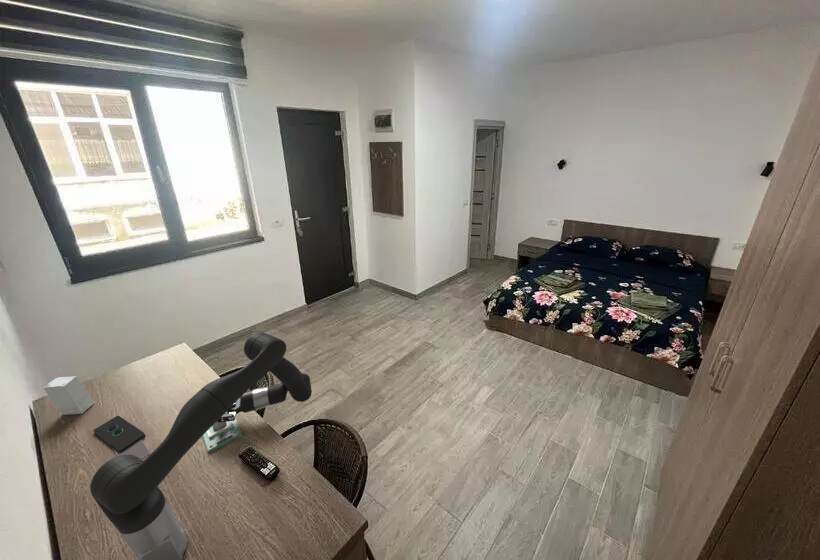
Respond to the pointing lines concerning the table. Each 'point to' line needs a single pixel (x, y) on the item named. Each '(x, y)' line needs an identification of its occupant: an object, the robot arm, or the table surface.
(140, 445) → the smartphone
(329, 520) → the table surface
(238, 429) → the header board
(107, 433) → the smart home device
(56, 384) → the skincare box
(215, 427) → the rook chess piece
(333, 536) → the table surface
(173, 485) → the table surface
